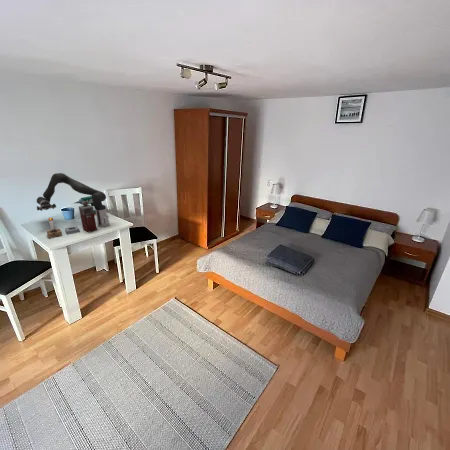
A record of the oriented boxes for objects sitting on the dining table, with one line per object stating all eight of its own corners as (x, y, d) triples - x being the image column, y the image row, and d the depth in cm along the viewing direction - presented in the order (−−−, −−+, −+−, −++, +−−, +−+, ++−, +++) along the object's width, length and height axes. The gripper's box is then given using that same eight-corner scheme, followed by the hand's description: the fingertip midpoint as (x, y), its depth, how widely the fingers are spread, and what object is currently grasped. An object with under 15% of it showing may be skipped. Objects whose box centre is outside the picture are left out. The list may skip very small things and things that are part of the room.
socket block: (77, 228, 231) (76, 225, 230) (79, 231, 224) (79, 228, 223) (65, 231, 225) (64, 228, 224) (67, 234, 218) (66, 231, 217)
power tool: (77, 219, 254) (73, 201, 247) (74, 217, 258) (70, 199, 250) (107, 212, 278) (104, 195, 270) (103, 210, 282) (101, 194, 274)
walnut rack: (60, 232, 222) (59, 228, 221) (62, 235, 215) (61, 231, 214) (47, 234, 216) (46, 230, 215) (48, 238, 209) (47, 234, 208)
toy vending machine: (88, 233, 221) (82, 203, 211) (83, 230, 228) (77, 201, 218) (98, 230, 228) (92, 201, 217) (93, 227, 234) (87, 199, 224)
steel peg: (57, 234, 217) (53, 217, 211) (55, 236, 214) (50, 219, 208) (54, 234, 217) (50, 217, 211) (51, 235, 214) (47, 218, 208)
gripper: (34, 202, 221) (36, 206, 210) (53, 199, 230) (55, 203, 218) (37, 210, 224) (38, 214, 212) (55, 207, 233) (57, 211, 221)
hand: (47, 208), depth 215 cm, fingers open, 8 cm apart
